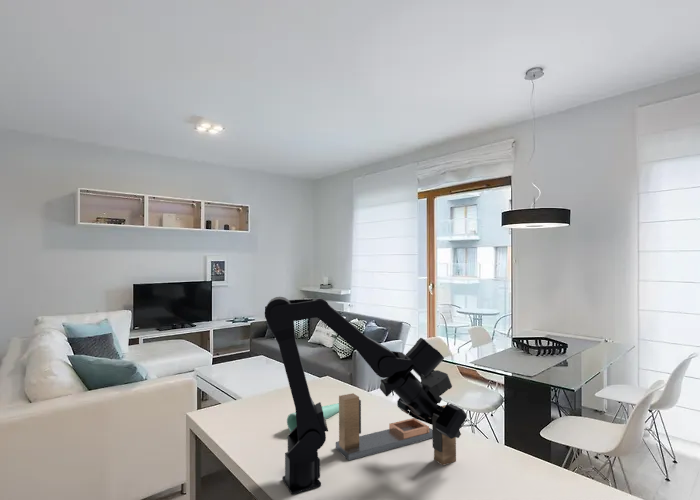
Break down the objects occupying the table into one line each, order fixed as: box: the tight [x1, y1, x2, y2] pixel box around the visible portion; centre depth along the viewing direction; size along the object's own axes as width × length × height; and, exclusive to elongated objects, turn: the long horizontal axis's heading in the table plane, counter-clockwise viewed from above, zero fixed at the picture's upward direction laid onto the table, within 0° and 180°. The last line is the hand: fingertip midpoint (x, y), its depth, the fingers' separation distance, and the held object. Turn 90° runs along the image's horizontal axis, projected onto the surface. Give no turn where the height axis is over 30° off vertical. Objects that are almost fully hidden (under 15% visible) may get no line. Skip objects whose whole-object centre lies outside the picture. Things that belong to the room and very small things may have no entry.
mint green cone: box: [286, 402, 339, 433], centre depth 116 cm, size 5×6×27 cm
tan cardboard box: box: [431, 404, 457, 466], centre depth 91 cm, size 5×3×12 cm, turn 118°
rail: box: [335, 392, 433, 461], centre depth 100 cm, size 26×7×14 cm, turn 118°
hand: (449, 430), depth 92 cm, fingers open, 6 cm apart
